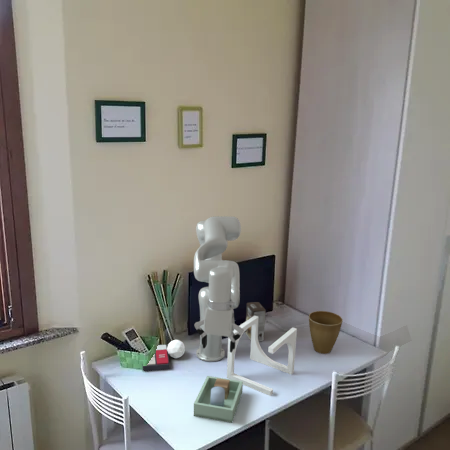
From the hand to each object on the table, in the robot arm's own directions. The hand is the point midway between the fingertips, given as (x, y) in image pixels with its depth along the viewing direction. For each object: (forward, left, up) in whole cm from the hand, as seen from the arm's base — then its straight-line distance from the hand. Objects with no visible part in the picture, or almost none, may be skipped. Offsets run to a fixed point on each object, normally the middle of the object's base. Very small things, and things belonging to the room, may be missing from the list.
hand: (218, 348), depth 164 cm
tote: (-3, 0, -25) cm, 25 cm away
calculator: (-24, -33, -25) cm, 48 cm away
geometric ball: (-30, -26, -25) cm, 47 cm away
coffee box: (-57, +4, -25) cm, 62 cm away
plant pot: (-54, +36, -25) cm, 70 cm away
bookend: (-26, +12, -25) cm, 38 cm away
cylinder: (0, 0, -23) cm, 23 cm away
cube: (-8, 0, -24) cm, 25 cm away
